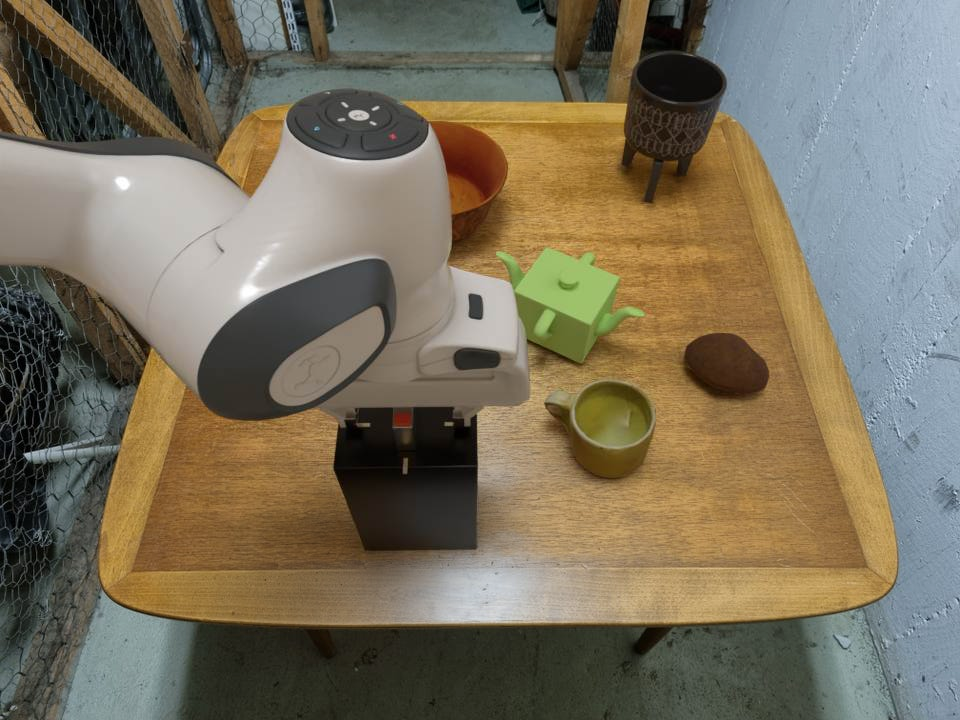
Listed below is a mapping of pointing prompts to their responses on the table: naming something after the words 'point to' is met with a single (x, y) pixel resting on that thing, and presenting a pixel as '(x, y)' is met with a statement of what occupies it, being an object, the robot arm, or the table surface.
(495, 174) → the bowl
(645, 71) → the planter
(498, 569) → the table surface
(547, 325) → the teapot
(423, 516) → the black lever box
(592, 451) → the mug
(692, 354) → the potato
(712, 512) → the table surface
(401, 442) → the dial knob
